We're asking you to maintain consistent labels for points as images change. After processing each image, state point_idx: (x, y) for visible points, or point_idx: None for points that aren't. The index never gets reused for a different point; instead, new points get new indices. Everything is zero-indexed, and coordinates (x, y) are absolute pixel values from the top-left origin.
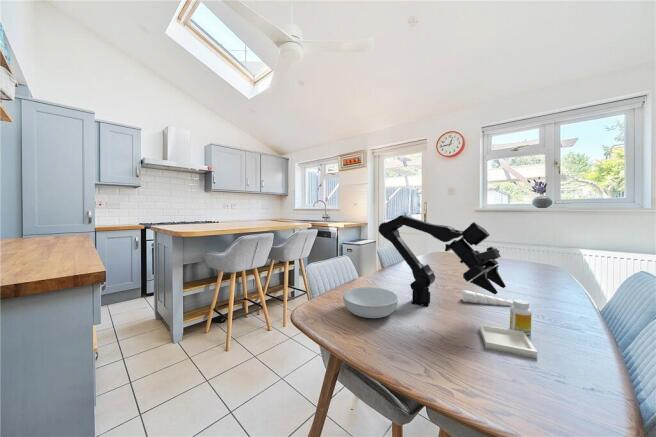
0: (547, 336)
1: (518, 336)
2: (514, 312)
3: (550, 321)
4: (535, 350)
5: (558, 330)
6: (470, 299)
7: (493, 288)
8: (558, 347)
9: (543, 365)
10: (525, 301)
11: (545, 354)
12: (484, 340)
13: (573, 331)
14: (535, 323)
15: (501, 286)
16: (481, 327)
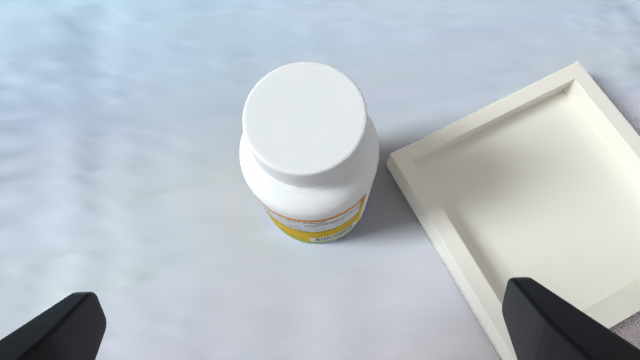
0: None
1: (427, 174)
2: (373, 177)
3: (42, 119)
4: (572, 68)
5: (152, 74)
6: None
7: (600, 329)
8: (364, 45)
9: (594, 53)
10: (267, 90)
11: (486, 65)
12: None
13: (114, 31)
14: (133, 165)
15: (93, 348)
16: None
